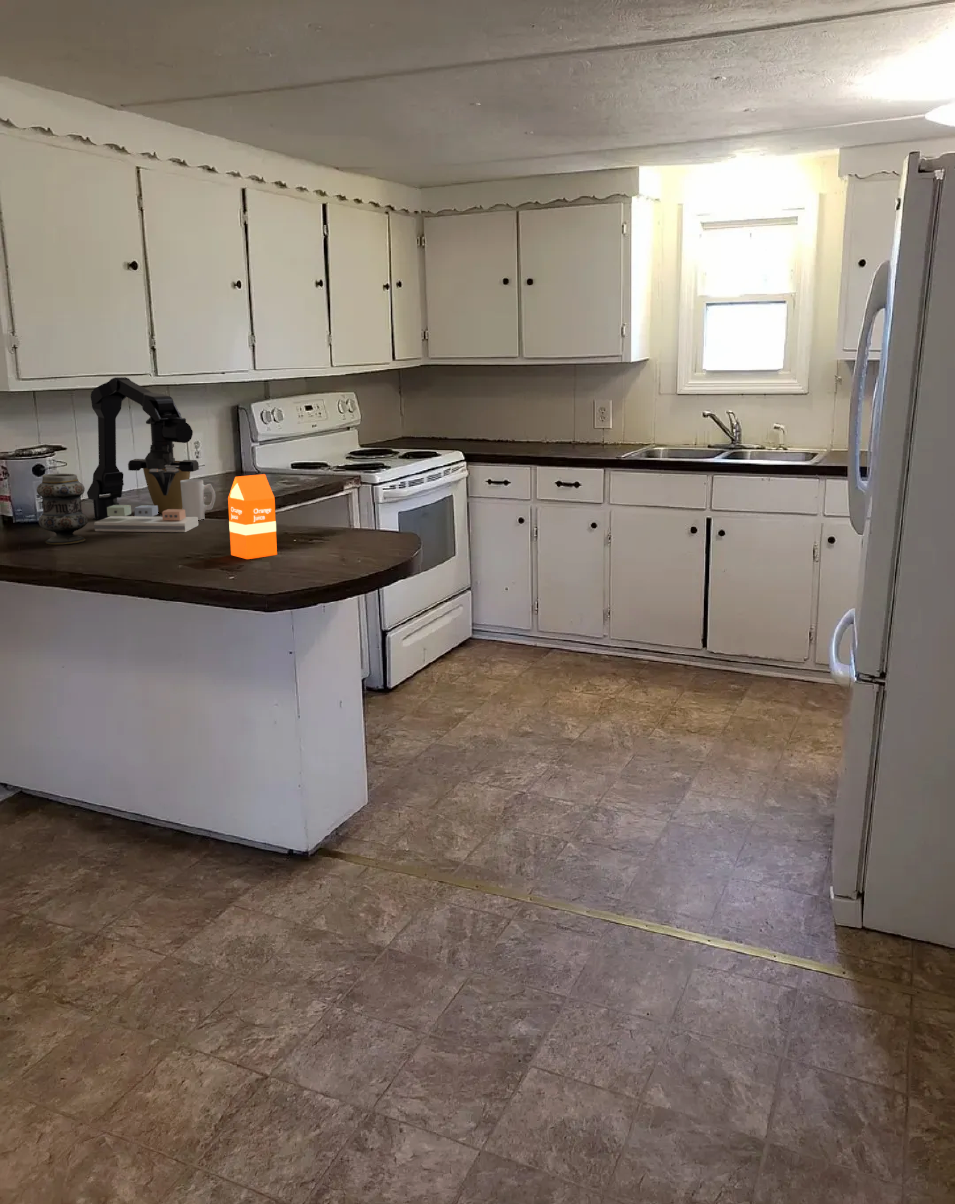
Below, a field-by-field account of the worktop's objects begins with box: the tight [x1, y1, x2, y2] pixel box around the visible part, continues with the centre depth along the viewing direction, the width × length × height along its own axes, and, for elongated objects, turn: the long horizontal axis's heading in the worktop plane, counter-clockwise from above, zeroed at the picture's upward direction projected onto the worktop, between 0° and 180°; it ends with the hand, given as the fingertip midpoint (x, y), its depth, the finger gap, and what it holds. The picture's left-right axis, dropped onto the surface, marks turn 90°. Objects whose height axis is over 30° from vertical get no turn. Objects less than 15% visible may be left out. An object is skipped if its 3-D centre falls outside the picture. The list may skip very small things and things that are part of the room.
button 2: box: [133, 504, 159, 517], centre depth 284 cm, size 5×5×2 cm
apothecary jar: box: [36, 473, 89, 546], centre depth 261 cm, size 12×12×18 cm
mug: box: [180, 478, 216, 521], centre depth 300 cm, size 10×7×12 cm, turn 107°
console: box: [93, 515, 199, 533], centre depth 285 cm, size 26×12×2 cm, turn 88°
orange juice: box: [227, 473, 278, 560], centre depth 245 cm, size 8×9×20 cm
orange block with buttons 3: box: [161, 508, 186, 521], centre depth 284 cm, size 5×5×2 cm
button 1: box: [107, 504, 132, 516], centre depth 284 cm, size 5×5×2 cm
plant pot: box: [142, 460, 191, 514], centre depth 313 cm, size 15×15×16 cm
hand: (165, 495), depth 283 cm, fingers closed
